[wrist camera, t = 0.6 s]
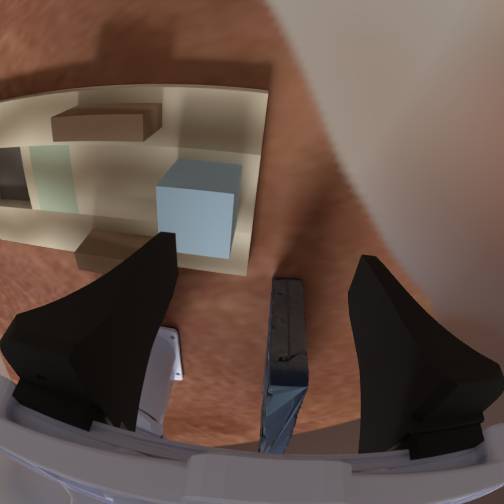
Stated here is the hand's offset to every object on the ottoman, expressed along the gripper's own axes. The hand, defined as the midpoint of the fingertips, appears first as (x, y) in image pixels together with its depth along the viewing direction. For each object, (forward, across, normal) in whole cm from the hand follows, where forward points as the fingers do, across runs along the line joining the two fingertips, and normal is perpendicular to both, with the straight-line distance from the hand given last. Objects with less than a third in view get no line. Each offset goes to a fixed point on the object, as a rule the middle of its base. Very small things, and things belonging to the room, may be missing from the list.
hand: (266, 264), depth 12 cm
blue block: (+8, +4, +1) cm, 9 cm away
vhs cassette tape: (+10, -3, +18) cm, 21 cm away
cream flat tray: (+10, +13, +1) cm, 16 cm away
